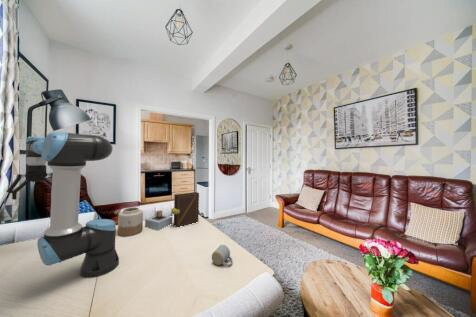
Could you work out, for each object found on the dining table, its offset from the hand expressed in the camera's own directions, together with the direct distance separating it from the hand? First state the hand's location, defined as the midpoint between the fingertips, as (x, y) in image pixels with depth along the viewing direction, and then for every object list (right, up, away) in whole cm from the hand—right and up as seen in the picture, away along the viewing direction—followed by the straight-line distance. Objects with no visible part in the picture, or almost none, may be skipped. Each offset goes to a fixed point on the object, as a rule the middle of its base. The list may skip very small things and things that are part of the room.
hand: (36, 202), depth 100 cm
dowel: (+50, -24, +42) cm, 70 cm away
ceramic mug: (+105, -31, -4) cm, 110 cm away
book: (+70, -30, +47) cm, 89 cm away
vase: (+35, -29, +29) cm, 54 cm away
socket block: (+50, -29, +42) cm, 72 cm away
